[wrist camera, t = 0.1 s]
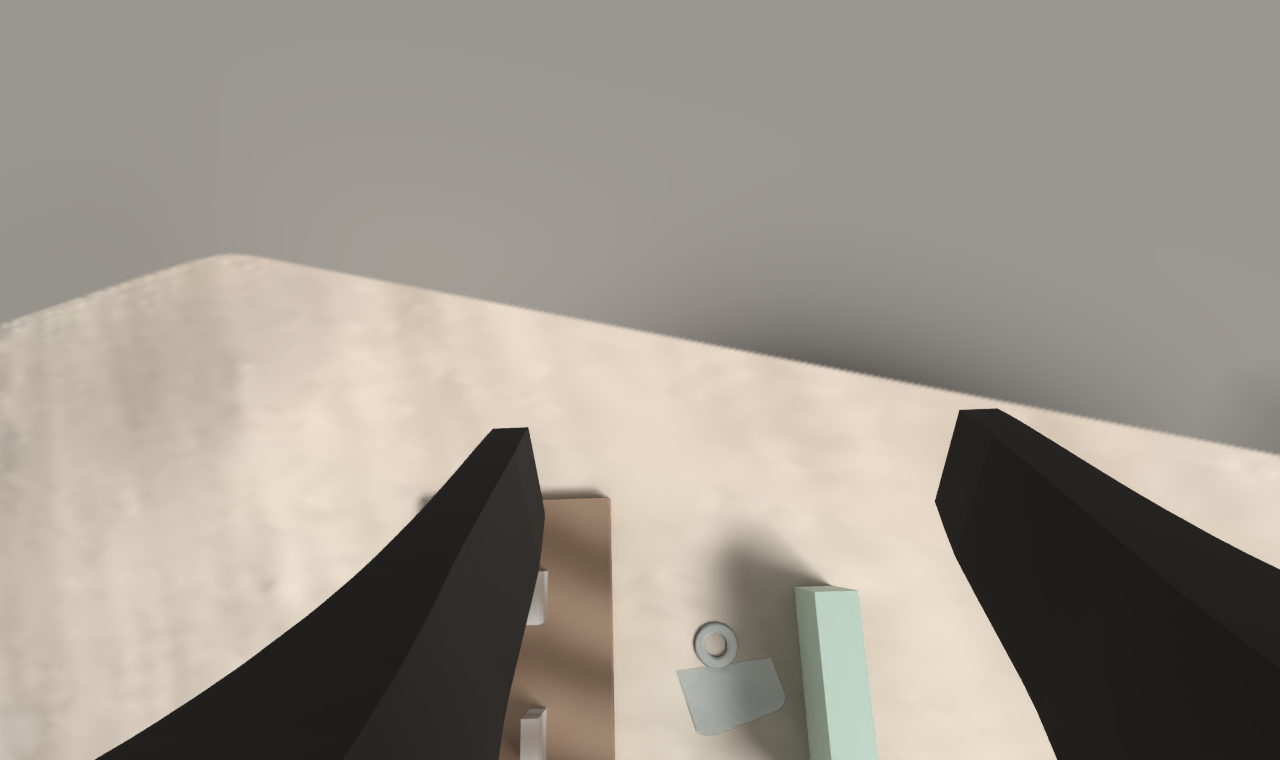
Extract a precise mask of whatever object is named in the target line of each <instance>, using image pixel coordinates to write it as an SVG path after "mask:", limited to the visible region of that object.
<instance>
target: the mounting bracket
mask: <svg viewBox="0 0 1280 760" xmlns="http://www.w3.org/2000/svg"><path fill="white" fill-rule="evenodd" d="M715 633H717V634H721V635H722V636H723V637H724V638H725V639H726V641H727V650H726V652H725V653H724V654H723V655H722V656H719V657H714V656H711V655H710V654H709V653H708V652H707V650H706V646H705V643H706V640H707V638H708V637H709V636H710V635H711V634H715ZM694 646H695V652H696V654H697V656H698V658H699V660H700V661H701V662H702V663H704V664H705V665H706V666H707V667H700V668H692V669H685V670H678V671H676V672H677V674H678V677H679V680H680V683H681V686H682V689H683V692H684V695H685V698H686V701H687V704H688V707H689V710H690V713H691V716H692V719H693V722H694V725H695V728H696V731H697V732H699V733H700V734H702V735H704V736H713V735H716V734H719V733H721V732H724V731H726V730H729V729H732V728H734V727H737V726H739V725H742V724H745V723H747V722H750V721H752V720H755V719H757V718H760V717H763V716H765V715H768V714H770V713H773V712H776V711H777V710H779V709H780V708H781V707H782V706H783V704H784V703H785V699H786V695H785V693H784V690H783V687H782V685H781V682H780V680H779V677H778V674H777V672H776V669H775V666H774V664H773V661H772V659H771V658H765V659H757V660H750V661H743V662H736V663H732V661H733V660H734V658H735V657H736V655H737V650H738V642H737V637H736V635H735V634H734V632H733V630H732V629H731V628H730V627H728V626H727V625H726V624H724V623H720V622H710V623H707V624H706V625H704V626H702V627H701V628H700V630H699V631H698V633H697V634H696V637H695V642H694Z"/></svg>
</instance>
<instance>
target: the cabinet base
mask: <svg viewBox="0 0 1280 760" xmlns="http://www.w3.org/2000/svg"><path fill="white" fill-rule="evenodd" d="M543 505H544V511H545V522H544V532H543V542H542V551H541V559H540V567H539V572H538V577H537V581H536V585H535V590H534V594H533V598H532V602H531V607H530V611H529V615H528V619H527V623H526V628H525V632H524V636H523V640H522V644H521V648H520V653H519V657H518V661H517V665H516V669H515V673H514V678H513V682H512V686H511V690H510V695H509V700H508V705H507V710H506V715H505V720H504V726H503V733H502V740H501V747H500V754H499V760H615V731H614V674H613V618H612V562H611V506H610V498H583V499H555V500H543Z"/></svg>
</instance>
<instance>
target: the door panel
mask: <svg viewBox="0 0 1280 760" xmlns="http://www.w3.org/2000/svg"><path fill="white" fill-rule="evenodd" d="M794 592H795V602H796V613H797V624H798V635H799V645H800V656H801V667H802V677H803V688H804V699H805V710H806V720H807V731H808V742H809V753H810V760H878V752H877V744H876V736H875V727H874V719H873V711H872V702H871V694H870V686H869V677H868V669H867V661H866V652H865V644H864V635H863V627H862V619H861V610H860V602H859V594H858V591H857V590H852V589H847V588H842V587H836V586H801V587H794Z"/></svg>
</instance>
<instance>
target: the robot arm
mask: <svg viewBox="0 0 1280 760" xmlns="http://www.w3.org/2000/svg"><path fill="white" fill-rule="evenodd" d="M935 503H936V506H937V509H938V512H939V514H940V517H941V520H942V523H943V526H944V529H945V531H946V534H947V537H948V539H949V542H950V544H951V547H952V549H953V552H954V554H955V557H956V559H957V561H958V563H959V565H960V566H961V568H962V570H963V572H964V574H965V576H966V578H967V580H968V582H969V584H970V585H971V587H972V589H973V591H974V593H975V595H976V597H977V599H978V601H979V602H980V604H981V606H982V608H983V610H984V612H985V613H986V615H987V617H988V619H989V621H990V623H991V625H992V626H993V628H994V630H995V632H996V634H997V636H998V637H999V639H1000V641H1001V643H1002V645H1003V647H1004V649H1005V650H1006V652H1007V654H1008V656H1009V658H1010V660H1011V661H1012V663H1013V665H1014V667H1015V669H1016V671H1017V673H1018V674H1019V676H1020V678H1021V680H1022V682H1023V684H1024V686H1025V688H1026V690H1027V692H1028V694H1029V696H1030V698H1031V700H1032V702H1033V704H1034V706H1035V708H1036V710H1037V713H1038V715H1039V717H1040V720H1041V722H1042V724H1043V727H1044V729H1045V732H1046V734H1047V736H1048V739H1049V741H1050V743H1051V746H1052V748H1053V751H1054V753H1055V755H1056V758H1057V760H1280V569H1278V568H1276V567H1274V566H1272V565H1269V564H1267V563H1265V562H1263V561H1261V560H1259V559H1257V558H1255V557H1253V556H1251V555H1249V554H1247V553H1245V552H1243V551H1241V550H1239V549H1237V548H1235V547H1233V546H1231V545H1230V544H1228V543H1226V542H1224V541H1222V540H1220V539H1218V538H1216V537H1214V536H1212V535H1211V534H1209V533H1207V532H1205V531H1203V530H1202V529H1200V528H1198V527H1196V526H1194V525H1193V524H1191V523H1189V522H1187V521H1185V520H1184V519H1182V518H1180V517H1178V516H1176V515H1175V514H1173V513H1171V512H1169V511H1167V510H1166V509H1164V508H1162V507H1160V506H1159V505H1157V504H1155V503H1153V502H1152V501H1150V500H1148V499H1147V498H1145V497H1143V496H1141V495H1140V494H1138V493H1136V492H1135V491H1133V490H1131V489H1130V488H1128V487H1126V486H1125V485H1123V484H1121V483H1120V482H1118V481H1116V480H1115V479H1113V478H1111V477H1110V476H1108V475H1107V474H1105V473H1103V472H1102V471H1100V470H1098V469H1097V468H1095V467H1093V466H1092V465H1090V464H1089V463H1087V462H1085V461H1084V460H1082V459H1081V458H1079V457H1077V456H1076V455H1074V454H1073V453H1071V452H1069V451H1068V450H1066V449H1065V448H1063V447H1061V446H1060V445H1058V444H1057V443H1055V442H1053V441H1052V440H1050V439H1049V438H1047V437H1045V436H1044V435H1042V434H1040V433H1039V432H1037V431H1036V430H1034V429H1032V428H1031V427H1029V426H1027V425H1026V424H1024V423H1022V422H1021V421H1019V420H1017V419H1016V418H1014V417H1012V416H1010V415H1008V414H1007V413H1005V412H1003V411H1001V410H999V409H973V410H959V414H958V417H957V421H956V425H955V429H954V432H953V436H952V440H951V443H950V447H949V451H948V455H947V458H946V462H945V466H944V470H943V473H942V477H941V481H940V484H939V488H938V492H937V496H936V499H935ZM544 522H545V511H544V505H543V500H542V495H541V490H540V485H539V480H538V475H537V470H536V464H535V459H534V454H533V449H532V444H531V439H530V434H529V429H528V427H525V428H500V429H492V430H491V432H490V433H489V434H488V435H487V436H486V437H485V438H484V439H483V440H482V441H481V443H480V444H479V445H478V446H477V447H476V448H475V450H474V451H473V452H472V453H471V454H470V455H469V457H468V458H467V459H466V460H465V461H464V462H463V464H462V465H461V466H460V467H459V468H458V469H457V471H456V472H455V473H454V474H453V475H452V476H451V477H450V479H449V480H448V481H447V482H446V483H445V484H444V485H443V487H442V488H441V489H440V490H439V491H438V492H437V493H436V494H435V495H434V496H433V498H432V499H431V500H430V501H429V502H428V503H427V504H426V505H425V506H424V508H423V509H422V510H421V511H420V512H419V513H418V514H417V515H416V516H415V517H414V518H413V519H412V520H411V521H410V523H409V524H408V525H407V526H406V527H405V528H404V529H403V530H402V531H401V532H400V533H399V534H398V535H397V536H396V537H395V538H394V539H393V540H392V541H391V542H390V543H389V544H388V545H387V546H386V547H385V548H384V549H383V550H382V551H381V552H380V553H379V554H378V555H377V556H376V557H375V558H373V559H372V560H371V561H370V562H369V563H368V564H367V565H366V566H365V567H364V568H363V569H362V570H361V571H359V572H358V573H357V574H356V575H355V576H354V577H353V578H352V579H351V580H349V581H348V582H347V583H346V584H345V585H344V586H342V587H341V588H340V589H339V590H338V591H337V592H335V593H334V594H333V595H332V596H331V597H329V598H328V599H327V600H326V601H325V602H324V603H322V604H321V605H320V606H319V607H318V608H316V609H315V610H314V611H313V612H311V613H310V614H309V615H308V616H306V617H305V618H304V619H302V620H301V621H300V622H298V623H297V624H296V625H295V626H293V627H292V628H291V629H289V630H288V631H287V632H285V633H284V634H283V635H281V636H280V637H279V638H277V639H276V640H275V641H273V642H272V643H271V644H269V645H268V646H267V647H265V648H264V649H263V650H261V651H260V652H259V653H257V654H256V655H255V656H253V657H252V658H251V659H250V660H248V661H247V662H245V663H244V664H243V665H241V666H240V667H238V668H237V669H236V670H234V671H233V672H231V673H230V674H228V675H227V676H225V677H224V678H223V679H221V680H220V681H218V682H217V683H215V684H214V685H212V686H211V687H209V688H208V689H207V690H205V691H204V692H202V693H201V694H199V695H198V696H196V697H195V698H193V699H192V700H190V701H188V702H187V703H185V704H184V705H182V706H181V707H179V708H178V709H176V710H175V711H173V712H172V713H170V714H169V715H167V716H165V717H164V718H162V719H161V720H159V721H158V722H156V723H155V724H153V725H151V726H150V727H148V728H147V729H145V730H143V731H142V732H140V733H139V734H137V735H135V736H134V737H132V738H131V739H129V740H127V741H126V742H124V743H122V744H120V745H119V746H117V747H115V748H114V749H112V750H110V751H109V752H107V753H105V754H104V755H102V756H100V757H98V758H97V759H95V760H499V754H500V747H501V740H502V733H503V726H504V720H505V715H506V710H507V705H508V700H509V695H510V690H511V686H512V682H513V678H514V673H515V669H516V665H517V661H518V657H519V653H520V648H521V644H522V640H523V636H524V632H525V628H526V623H527V619H528V615H529V611H530V607H531V602H532V598H533V594H534V590H535V585H536V581H537V577H538V572H539V567H540V559H541V551H542V542H543V532H544Z"/></svg>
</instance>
